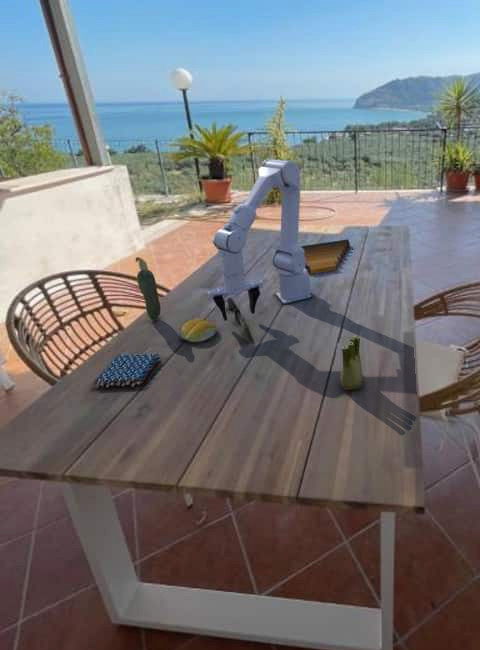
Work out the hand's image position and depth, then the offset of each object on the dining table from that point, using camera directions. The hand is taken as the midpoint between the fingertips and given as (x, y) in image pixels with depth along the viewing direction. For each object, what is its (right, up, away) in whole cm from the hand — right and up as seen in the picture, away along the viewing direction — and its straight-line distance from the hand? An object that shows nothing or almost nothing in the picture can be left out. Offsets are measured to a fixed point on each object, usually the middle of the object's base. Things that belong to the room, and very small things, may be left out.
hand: (239, 315), depth 110 cm
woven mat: (-20, -11, -19) cm, 30 cm away
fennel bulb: (+33, -12, -23) cm, 42 cm away
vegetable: (-25, -2, +3) cm, 25 cm away
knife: (0, -3, +1) cm, 3 cm away
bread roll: (-9, -5, -4) cm, 11 cm away
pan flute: (+22, +16, +49) cm, 56 cm away
